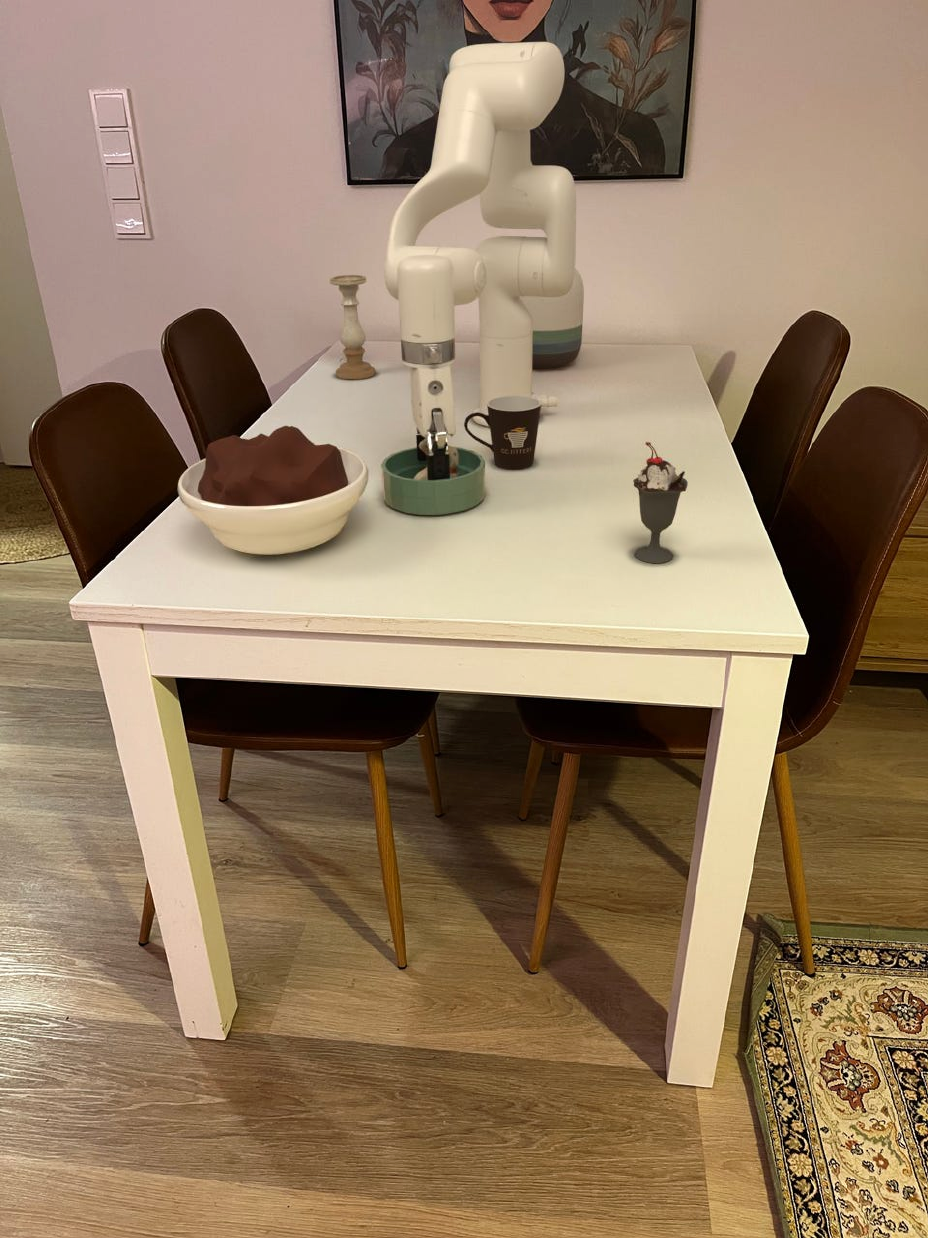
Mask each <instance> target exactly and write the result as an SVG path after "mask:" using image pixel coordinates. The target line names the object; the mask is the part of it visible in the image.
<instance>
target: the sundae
mask: <svg viewBox="0 0 928 1238" xmlns="http://www.w3.org/2000/svg"><path fill="white" fill-rule="evenodd" d="M645 445H646V446H647V447H649V448H650V451H651V455H650V458H647V459H646V461H645V463H646V466H644V468H642V469H641V470H640V473H639V474H638V475H637V476H638V477H636V478H634V479H633V481H632V482H633V486H634V488H636V489H637V491H638V499H639V500H638V501H639V514H640V521H641V523H642V524H643V525H644V527H645V528H647V530H649V531H650V539H649V544H648V545H646V546H645V545H644V546H640V547H639V548H637V549H636V550H634V553H633V555H634V556H635V558H636V559H638V560H639V561H641V562H644V563H648V564H665V563H667V562H669V561H671V560H672V559H673V558H674V554H673V552H672V551H671V550H670V549H668V548H666V547H663V546H661V543H660V541H661V540H660V538H661V533H662V532H663V531H665V530H667V529H668V528H669V527H670V526H671V525H672V524H673V522H674V519H675V516H676V511H677V508H678V503H679V500H680V496H681V493H682V492H686V491H687V488H688V486H689V485H688V483H689V482H688V480H687V479H686V478H685V477H684V475H685V474H686V471H684V470H683V471H682V472H680V473H679V474H677V473H676V467H675V466H673V465H672V463H671V462H669V461H668V460H663V458H662V457H661V456H659V455H658V454H657V451H656V450H655V448H654V446H653V445H652V442H650V441H649V442H648V441H646V442H645ZM654 455H655V457H654Z"/></svg>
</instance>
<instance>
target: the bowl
mask: <svg viewBox="0 0 928 1238" xmlns="http://www.w3.org/2000/svg"><path fill="white" fill-rule="evenodd" d="M454 447H455V448H456V449H457V451H458V456H459V464H458V467H457V468H456V471H457V472H459V476H457V477H455V478H450V479H441V480H416V479H414V477H415V476H416V475H417V474H418V473H419V472H420V471H422V470H424V469H425V468H426V467H427V461H418V459H417V446H416V447H411V448H406V449H402V450H399V451H396V452H394V453H391V454H390V455H388V456H386V457H385V458H383V460H382V461H381V464H380V470H381V471H380V472H381V486H382V497H383V501H384V502H385V504H386V505H388V506H389V507H390V508H392V509H394V510H397V511H400V512H403V513H407V514H414V515H418V516H419V515H420V516H421V515H422V516H428V515H429V516H438V515H445V514H446V515H449V514H454V513H458V512H462V511H467V510H469V509H471V508H473V507H475V506H478V505H479V504H480V503H481V502H482V501H484V499H485V496H486V461H485V459H484V457H483V456H482V455H481V454H479V453H478V452H475V451H474V450H471V449H467V448H464V447H459V446H454Z"/></svg>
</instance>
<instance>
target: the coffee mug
mask: <svg viewBox="0 0 928 1238" xmlns="http://www.w3.org/2000/svg"><path fill="white" fill-rule="evenodd" d="M487 408H488V415H485V414H483V413H479V412H476V413H473V412H472V413H469V415H467V416H466V417H465V419H464V422H463V423H464V424H463V427H464V430H465V432H466V433H467V435H469V436H470V438H471V439H473V440H474V441H476V442H478V443H479V444H481V445H483V446H485V447H487V448H489V449H490V450H491V452H492V455H493V463H494V466H495V467H497V468H499V469H502V470H507V471H521V470H526V469H529V468H531V467H533V465H534V461H535V454H536V446H537V438H538V431H539V422H540V418H541V408H542V407H541V401H540V400H538V399H536V398H533V397H528V396H516V395H514V396H502V397H497V398H493V399H491V400H489V401H488V402H487ZM475 416H479V417H482V418H484V419H485V421H486V422H487V424H488V425H489V426H490V427H489V426H488V427H489V431H490V439H491V443H488V442H487V441H486V440H483V439H481V438H479V437H477V436H476V435H474V434H473V432H471V431H470V429H469V428H468V423H469V421H470V420H471V419H473V417H475ZM539 417H540V418H539Z"/></svg>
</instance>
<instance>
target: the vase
mask: <svg viewBox="0 0 928 1238" xmlns="http://www.w3.org/2000/svg"><path fill="white" fill-rule="evenodd" d="M584 290H585V289H584V282H583V278H582V276H581V274H580V272H579V271H578V270H577V269H576V268H575V275H574V281H573V285H572V288H571V289H570V291H569V292H568V293H567V294H565V295H563V296H560V297H537V296H524V297H520V298H521V300H522V301H523V303H524V304H525V306H526V307H527V309H528V311H529V313H530V315H531V318H532V322H533V347H532V369H556V368H561V367H565V366H567V365H570V364H572V363H573V362H574V361H575V360H576V359H577V358H578V356H579V354H580V351H581V347H582V342H583V341H582V339H583V322H584V320H583V319H584V301H585V300H584V298H585V297H584V296H585V291H584Z"/></svg>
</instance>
